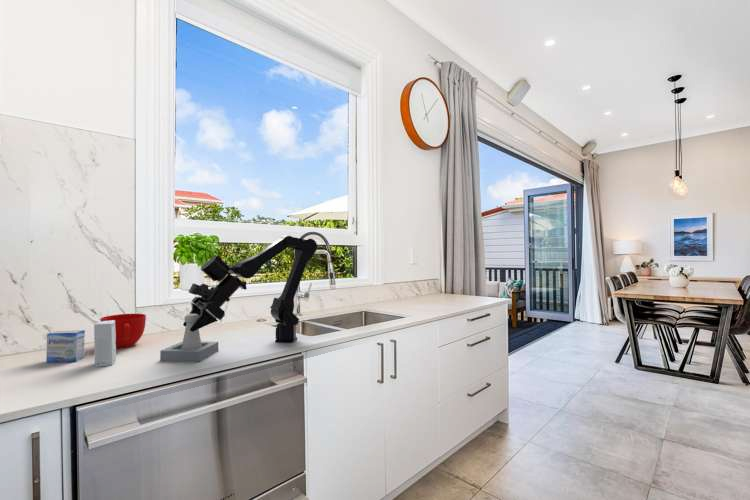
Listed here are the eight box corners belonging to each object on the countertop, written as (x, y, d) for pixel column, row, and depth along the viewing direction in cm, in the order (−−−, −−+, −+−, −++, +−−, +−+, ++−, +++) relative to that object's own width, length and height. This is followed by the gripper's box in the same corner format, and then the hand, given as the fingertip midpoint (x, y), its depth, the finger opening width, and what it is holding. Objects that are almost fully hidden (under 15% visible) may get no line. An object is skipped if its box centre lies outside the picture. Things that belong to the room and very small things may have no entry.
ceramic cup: (102, 355, 116) (102, 323, 116) (99, 344, 130) (99, 315, 130) (150, 349, 125) (150, 319, 125) (143, 339, 138) (143, 312, 138)
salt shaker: (200, 357, 116) (200, 315, 116) (179, 358, 114) (180, 316, 114) (203, 352, 121) (203, 312, 121) (183, 353, 120) (183, 313, 119)
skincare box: (112, 365, 107) (112, 323, 107) (93, 367, 105) (93, 324, 105) (116, 359, 112) (116, 319, 112) (98, 361, 110) (98, 320, 110)
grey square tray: (218, 350, 123) (218, 341, 123) (199, 361, 111) (199, 351, 111) (183, 349, 124) (183, 340, 124) (160, 360, 112) (160, 350, 112)
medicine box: (45, 363, 109) (45, 333, 109) (55, 358, 113) (55, 330, 113) (76, 362, 110) (76, 332, 110) (85, 357, 114) (85, 329, 114)
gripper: (198, 272, 127) (161, 308, 120) (214, 276, 113) (172, 316, 106) (222, 294, 132) (188, 329, 125) (240, 300, 118) (202, 340, 111)
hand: (187, 328), depth 117 cm, fingers open, 9 cm apart
